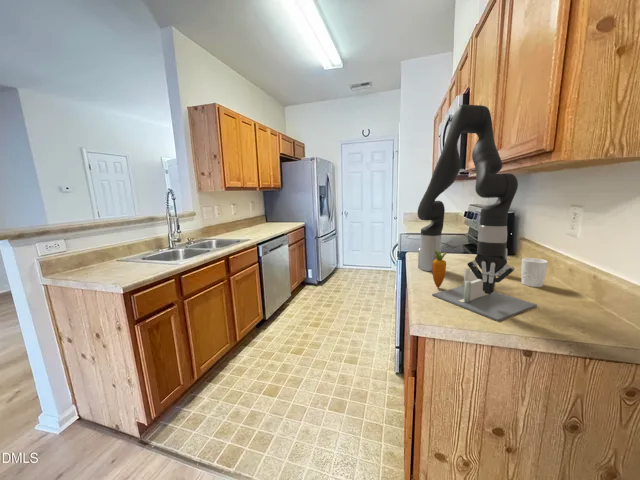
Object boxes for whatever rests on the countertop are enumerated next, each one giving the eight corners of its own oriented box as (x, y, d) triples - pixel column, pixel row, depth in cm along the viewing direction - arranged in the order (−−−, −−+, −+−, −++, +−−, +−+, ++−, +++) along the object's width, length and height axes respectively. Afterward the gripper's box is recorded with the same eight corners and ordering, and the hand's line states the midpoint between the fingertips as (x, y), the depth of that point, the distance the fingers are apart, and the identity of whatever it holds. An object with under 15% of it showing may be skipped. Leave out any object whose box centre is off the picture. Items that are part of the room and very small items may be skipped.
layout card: (432, 295, 96) (432, 293, 96) (469, 285, 105) (469, 283, 105) (497, 321, 76) (497, 319, 76) (536, 306, 85) (536, 304, 85)
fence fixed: (462, 286, 103) (463, 266, 102) (465, 285, 104) (466, 266, 103) (488, 294, 94) (490, 273, 93) (491, 293, 95) (493, 272, 93)
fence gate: (483, 292, 95) (484, 274, 94) (488, 293, 94) (490, 275, 93) (462, 300, 88) (463, 281, 87) (467, 302, 87) (469, 283, 86)
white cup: (514, 282, 107) (517, 258, 105) (528, 280, 109) (531, 256, 107) (535, 289, 99) (538, 263, 98) (549, 286, 102) (552, 261, 100)
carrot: (447, 288, 103) (449, 250, 100) (439, 290, 100) (441, 252, 98) (436, 284, 107) (438, 248, 105) (428, 287, 105) (430, 250, 102)
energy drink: (500, 272, 120) (503, 247, 118) (508, 276, 115) (510, 249, 113) (488, 272, 120) (490, 247, 118) (495, 276, 115) (497, 249, 113)
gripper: (521, 240, 79) (516, 295, 82) (472, 236, 89) (469, 285, 91) (514, 243, 74) (509, 302, 77) (464, 239, 84) (461, 291, 86)
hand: (488, 293), depth 84 cm, fingers closed
